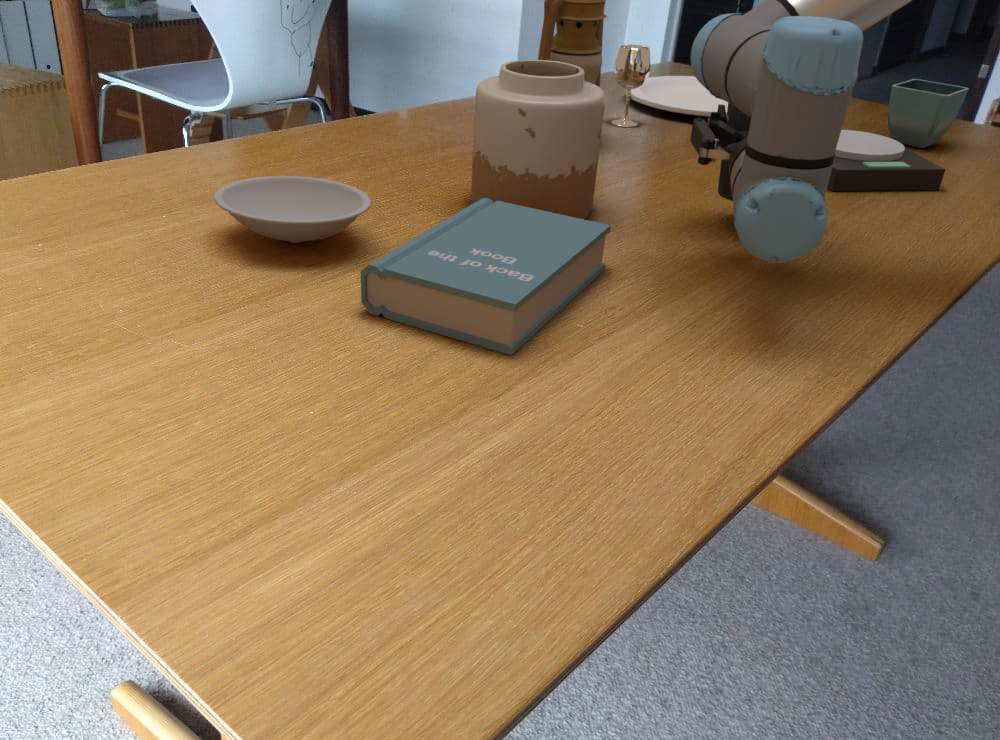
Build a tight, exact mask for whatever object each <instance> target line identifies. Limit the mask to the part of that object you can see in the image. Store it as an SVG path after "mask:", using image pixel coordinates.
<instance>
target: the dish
mask: <svg viewBox="0 0 1000 740" xmlns="http://www.w3.org/2000/svg"><path fill="white" fill-rule="evenodd" d="M213 197H214V202H215V204H216V205H217V206H218V207H219V208H220V209H222V210H223V211H225V212H227V213H228V214H229V215H230V216H232V218H234V219H235V220H236V222H238V223H239V224H241V225H242V226H244V227H245V228H247V229H249V230H250V231H252V232H254V233H256V234H258V235H260V236H263V237H266V238H269V239H274V240H279V241H286V242H289V243H293V244H298V243H302V242H310V241H319V240H322V239H327V238H330V237H333V236H335V235H336V234H338V233H341V232H342V231H344V230H345V229H346V228H348V227H349V226H350V225H351V224H352V223H354V221H356V220H357V218H358V217H360V216H362V215H363V214H365V213H366V212H368V211H369V209H370V208H371V205H372V201H371V198H370V196H369V195H368V194H367V193H366V192H365V191H363V190H361V189H360V188H357V187H356V186H353V185H350V184H347V183H344V182H340V181H337V180H333V179H332V180H331V179H326V178H320V177H312V176H302V175H301V176H299V175H269V176H268V175H267V176H258V177H250V178H245V179H239V180H236V181H232V182H229V183H227V184H225V185H223V186H221V187H220V188H218V189H217V190H216V191H215V192H214V196H213Z"/></svg>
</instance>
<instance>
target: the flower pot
mask: <svg viewBox="0 0 1000 740" xmlns="http://www.w3.org/2000/svg"><path fill="white" fill-rule="evenodd" d="M890 89H891V90H890V97H889V104H888V109H887V127H888V131H889V135H890V138H891V139H894V140H896V141H898V142H900V143H901V144H903V145H907V146H911V147H915V148H918V149H926V148H928V147H930V146H931V145H935V144H937V143H938V142H939V141H940V140H941V138H942V137H944V136H945V134H946V133H947V132H948V131H949V130H950V129H951V127H952V126H953V124H954V122H956V121H955V120H956V119H957V117H958V116H959V115H958V114H959V113H960V111H961V109H962V106H963V104H964V101H965V99H966V98H967V95H968V93H969V90H970V88H969V87H965V86H961V85H956V84H955V85H954V84H948V83H943V82H938V81H931V80H925V79H920V78H919V79H918V78H911V79H908V80H906V81H902V82H899V83H895V84H892V85H891V88H890Z"/></svg>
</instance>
